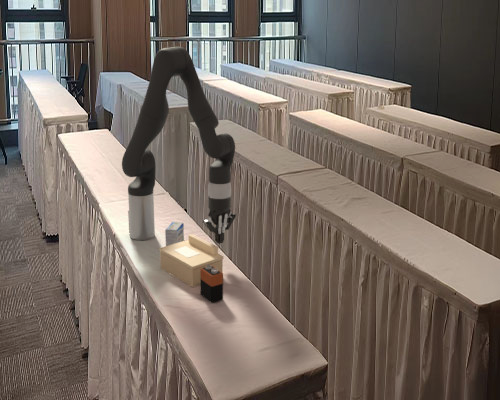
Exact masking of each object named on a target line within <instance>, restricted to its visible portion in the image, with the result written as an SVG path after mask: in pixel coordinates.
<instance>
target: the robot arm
mask: <svg viewBox="0 0 500 400" xmlns="http://www.w3.org/2000/svg"><path fill="white" fill-rule="evenodd" d="M173 77H179V78H180V79H181V81H182V82H183V84H184V85H185V89H186V95H187V107H188V111H189V113H190V116H191V118H192V120H193V123H194V124H195V125H196V127H197V130H198V131H199V137H200V140H201V144H202V148H203V150H204V153H205V154H206V155H207V156H208V157H210V158H211V159H215V160H214V161H213V163H211V164H210V165H209V168H208V186H207V187H208V189H207V190H208V191H207V194H208V195H207V196H208V198H207V202H208V204H207V205H208V206H207V207H208V217H207V218H206V219H203V220H202V223H203V225H205V227H206V228H207V229H208V230H209V232H211V233H213V234H214V240H215V242H216V243H217V244H219V245H220V244H223V243H224V241H225V233H226V231H228V230H229V229H230V227H231V226H232V224H233V222H234V220H235V219H236V217H237V215H236V213H233V212H232V210H231V208H232V185H231V184H232V183H231V168H232V164H233V162H234V158H235V153H236V143H235V140H234V138H233V136H232V135H231V134H229V133H220V134H217V133H216V128H217V127H218V126H219V120H218V118H217V115H216V114H215V111H214V110H213V108H212V107H211V105H210V103H209V101H208V99H207V96H206V94H205V92H204V89H203V86H202V83H201V80H200V78H199V76H198V73H197V70H196V67H195V64H194V61H193V58H192V57H191V55H190V52H189V51H188V50H187V49H186V48H185V47H182V46H173V47H164V48H161V49H159V50H158V51H157V53H156V54H155V57H154V59H153V62H152V68H151V72H150V78H149V83H148V86H147V89H146V93H145V96H144V99H143V103H142V105H141V108H140V111H139V114H138V117H137V122H136V124H135V127H134V130H133V132H132V135H131V138H130V140H129V143H128V145H127V147H126V149H125V151H124V153H123V156H122V161H121V169H122V172H123V173H124V175H125V176H127V177H129V178H134V180H132V182H130V183H129V185H128V186H127V194H128V196H127V197H128V210H127V214H128V215H127V216H128V234H129V233H130V234H129V237H130V238H131V239H133V240H137V241H145V240H147V241H148V240H151V239H153V238H154V237H155V236H156V234H155V233H156V231H155V230H156V229H155V225H156V223H155V203H154V201H155V200H154V198H155V197H154V194H155V193H154V190H155V189H154V188H155V185H156V169H157V168H156V166H157V165H156V158H155V156H154V154H153V152H152V151H151V150H150V149H149V148H148V147H149V146H150V145H151V143H152V142H153V141H154V140H155V139H156V138H157V137H158V135H159V134H160V133H161V132H162V131H163V129H164V127H165V124H166V121H167V120H168V119H167V118H168V116H169V112H170V106H169V102H168V97H167V89H168V87H169V83H170V82H171V79H172V78H173Z"/></svg>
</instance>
